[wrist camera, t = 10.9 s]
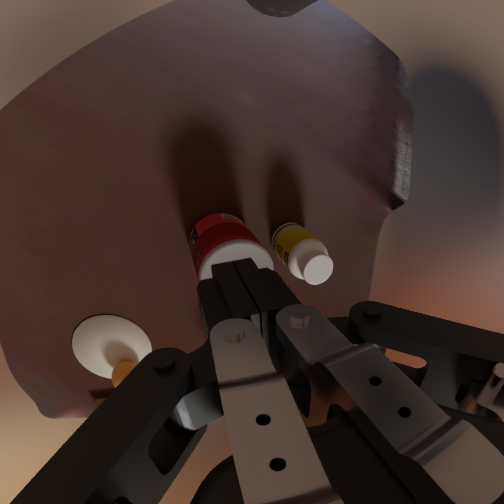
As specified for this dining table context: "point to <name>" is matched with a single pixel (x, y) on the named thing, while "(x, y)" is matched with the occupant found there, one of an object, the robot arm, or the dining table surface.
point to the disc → (109, 343)
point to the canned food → (224, 244)
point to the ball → (121, 371)
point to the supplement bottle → (302, 253)
